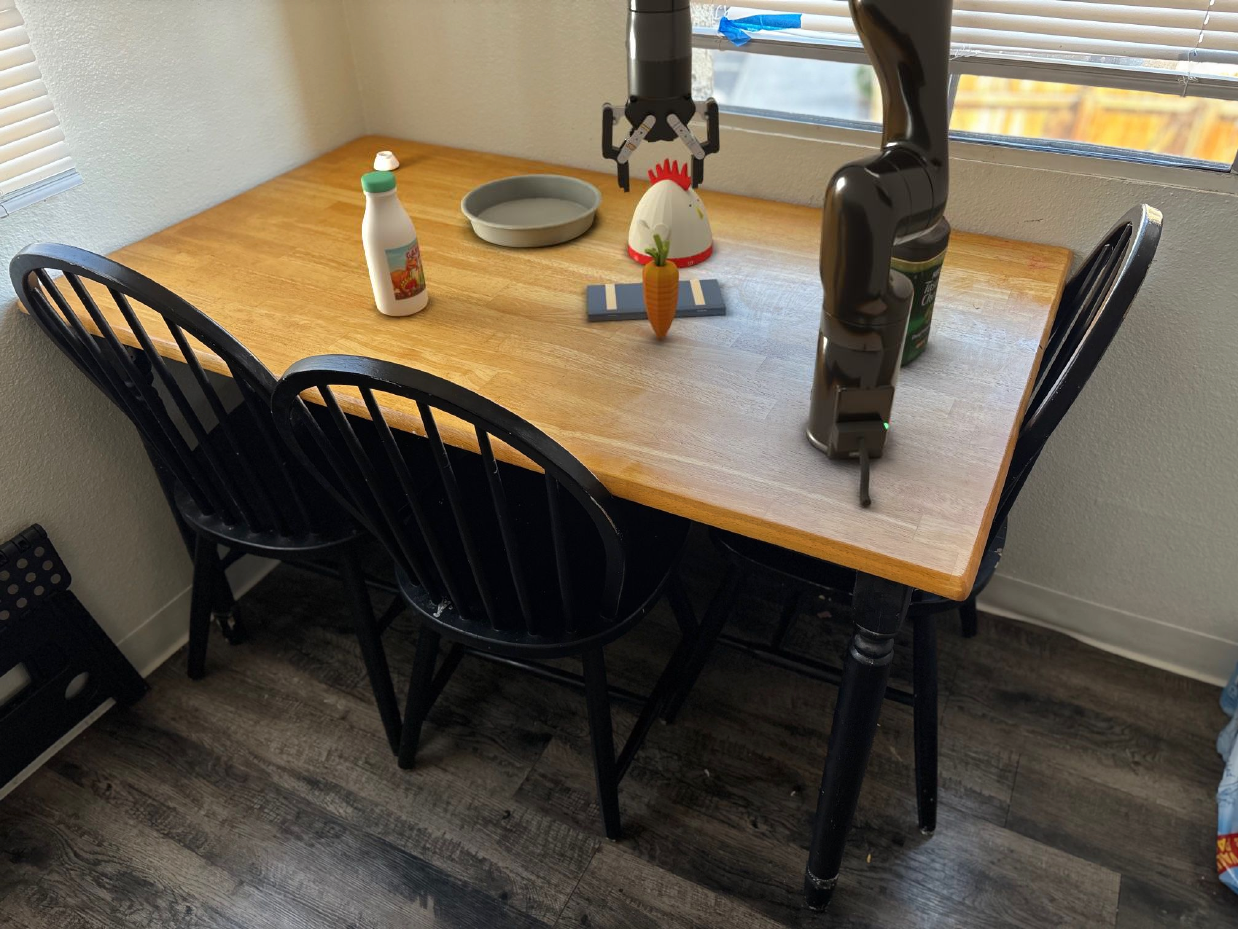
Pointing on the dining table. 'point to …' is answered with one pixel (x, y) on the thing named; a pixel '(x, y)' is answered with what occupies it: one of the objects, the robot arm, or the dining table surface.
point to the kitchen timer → (671, 219)
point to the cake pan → (532, 209)
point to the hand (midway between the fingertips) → (660, 188)
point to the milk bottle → (391, 248)
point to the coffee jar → (921, 282)
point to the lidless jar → (385, 161)
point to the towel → (631, 305)
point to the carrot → (660, 288)
